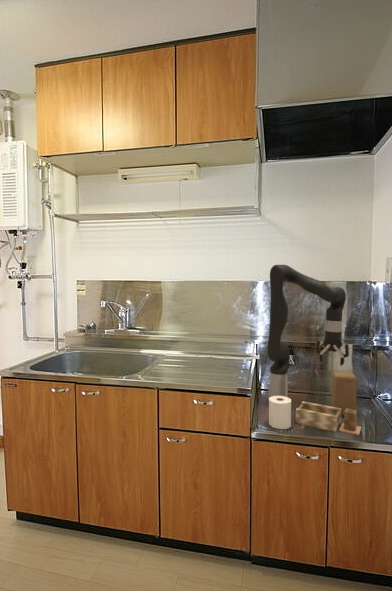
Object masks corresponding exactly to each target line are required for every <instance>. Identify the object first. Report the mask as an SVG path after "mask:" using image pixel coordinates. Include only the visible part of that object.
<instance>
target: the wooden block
mask: <svg viewBox="0 0 392 591" xmlns="http://www.w3.org/2000/svg"><path fill="white" fill-rule="evenodd" d="M330 397H331V405H330V406H331V407H337V408H341V417H342V416H343V417H344V412H345V410H346V408H348V409H353V410H357V377H356V375H354V373H353V372H352V371H338V370H337V371H336V370H334V371H332V372H331V396H330Z"/></svg>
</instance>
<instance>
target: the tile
mask: <svg viewBox="0 0 392 591" xmlns="http://www.w3.org/2000/svg"><path fill="white" fill-rule="evenodd" d="M338 430H339V432H341V433H347V434H352V435H355V434H356V436H360V433H361V430H362V426H360V425H359V426H358V425H357V428H356V430H355V432H354V431H350V430H345V429H344V422H342V423H341V425H340V426H339V429H338Z"/></svg>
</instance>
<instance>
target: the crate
mask: <svg viewBox="0 0 392 591" xmlns="http://www.w3.org/2000/svg"><path fill="white" fill-rule="evenodd" d="M341 422H342V415H341V408H337V407H331V405H325V404H320V403H315V402H308V401H301V404H300V405H299V407H296V409H295V424H297V425H302V426H306V427H311V428H314V429H315V428H316V429H320V430H325V431H329V432H334V433H337V431H338V430H339V428H340V426H341V425H340V424H342V423H341Z"/></svg>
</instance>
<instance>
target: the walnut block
mask: <svg viewBox="0 0 392 591" xmlns="http://www.w3.org/2000/svg"><path fill="white" fill-rule="evenodd" d="M343 417H344V418H343V419H344V420H343V423H344V429H345V430H350V431H354V432H355V430H356V428H357V426H358V423H357V422H358V419H357V418H358V410H357V409H356V410H353V409H348V408H346V410H345V412H344V416H343Z"/></svg>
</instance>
